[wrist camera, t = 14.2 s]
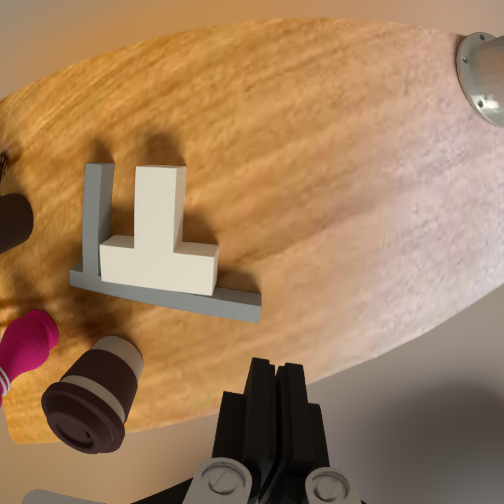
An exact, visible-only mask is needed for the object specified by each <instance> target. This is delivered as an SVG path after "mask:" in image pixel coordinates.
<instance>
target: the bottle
mask: <svg viewBox="0 0 504 504" xmlns="http://www.w3.org/2000/svg"><path fill="white" fill-rule="evenodd" d="M32 228H33V216H32V211H31V208H30V206H29V204H28V202H27V201H26V199H25V198H24V197H22V196H21V195H20V194H15V193H12V194H8V195H5V196H1V197H0V254H2V253H4V252H6V251H8V250H10V249H11V248H13V247H15V246H17V245H19V244H21V243H23V242H25V241H26V240H27V239H28V238H29V236H30V235H31V232H32Z"/></svg>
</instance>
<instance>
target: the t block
mask: <svg viewBox="0 0 504 504" xmlns="http://www.w3.org/2000/svg"><path fill="white" fill-rule="evenodd" d="M186 168H187V166H173V165H152V164H149V165H143V166H136V178H135V211H134V237H133V236H123V235H114V236H112V237H111V238H109V239H108V240H106V241H105V242H103V243H102V244H100V263H101V278H102V281H105V282H112V283H118V284H125V285H132V286H139V287H146V288H154V289H161V290H169V291H177V292H185V293H193V294H202V295H210V296H212V294H213V291H214V287H215V284H216V281H217V270H218V255H219V245H212V244H202V243H193V242H183V241H182V238H183V216H184V197H185V182H186Z"/></svg>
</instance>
